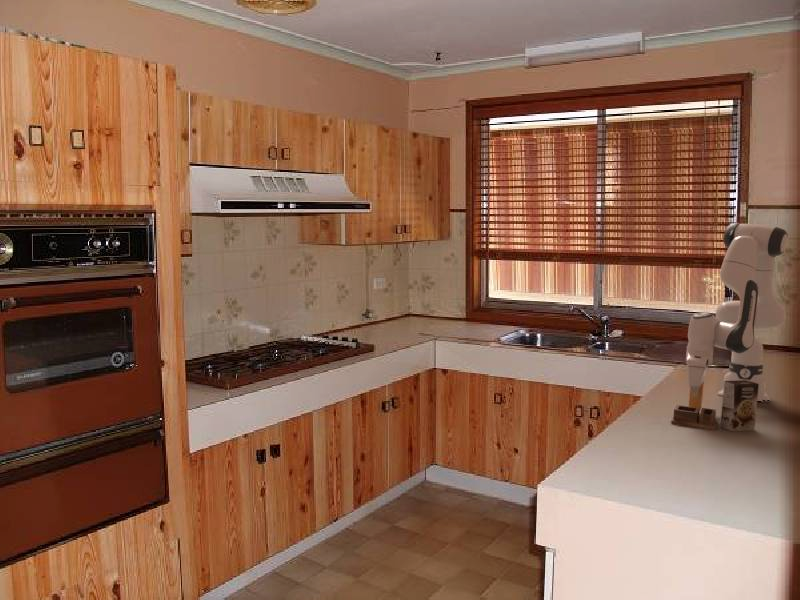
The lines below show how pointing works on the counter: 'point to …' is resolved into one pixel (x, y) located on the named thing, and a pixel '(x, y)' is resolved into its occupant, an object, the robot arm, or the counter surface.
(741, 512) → the counter surface
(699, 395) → the square peg
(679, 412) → the socket holder
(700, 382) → the robot arm
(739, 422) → the coffee box
